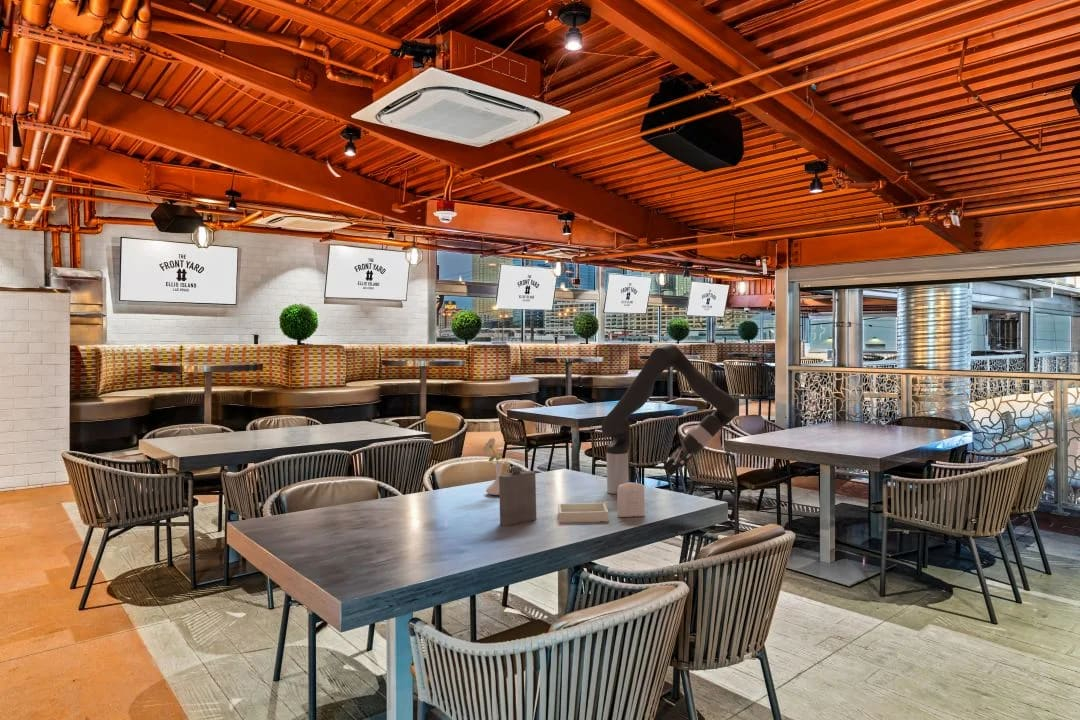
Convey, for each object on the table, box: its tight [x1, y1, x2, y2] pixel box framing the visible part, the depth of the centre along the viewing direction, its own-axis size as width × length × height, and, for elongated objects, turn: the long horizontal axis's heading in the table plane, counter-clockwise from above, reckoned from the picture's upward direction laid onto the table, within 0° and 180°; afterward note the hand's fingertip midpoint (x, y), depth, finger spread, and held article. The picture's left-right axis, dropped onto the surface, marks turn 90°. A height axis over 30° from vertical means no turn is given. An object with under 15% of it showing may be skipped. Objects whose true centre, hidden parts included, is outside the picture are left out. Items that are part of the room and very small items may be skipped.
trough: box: [557, 502, 609, 523], centre depth 243 cm, size 14×18×4 cm
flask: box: [498, 465, 537, 527], centre depth 239 cm, size 15×6×20 cm, turn 126°
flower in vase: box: [482, 437, 505, 496], centre depth 283 cm, size 13×11×25 cm
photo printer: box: [616, 482, 646, 518], centre depth 243 cm, size 10×4×12 cm, turn 98°
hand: (666, 471), depth 243 cm, fingers open, 8 cm apart
